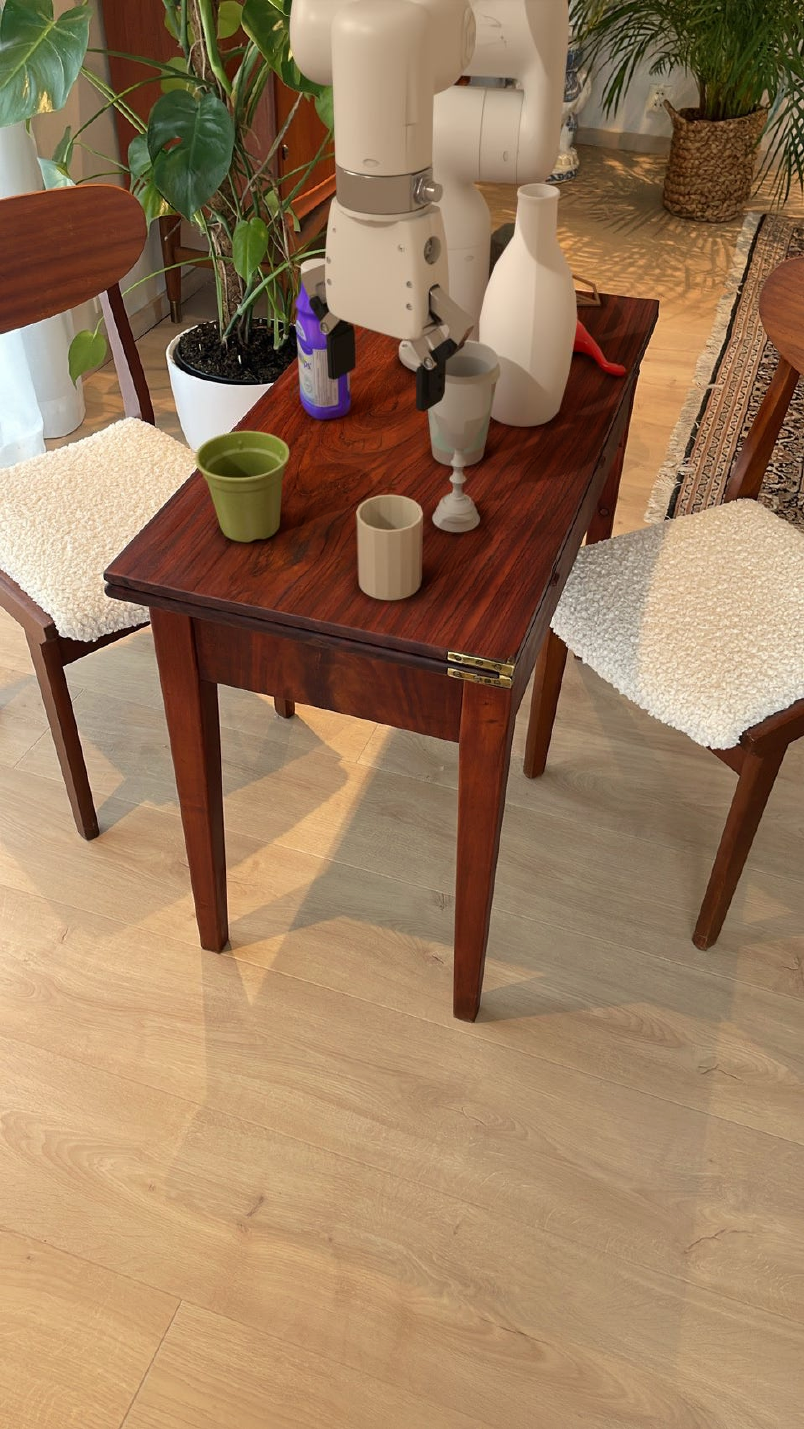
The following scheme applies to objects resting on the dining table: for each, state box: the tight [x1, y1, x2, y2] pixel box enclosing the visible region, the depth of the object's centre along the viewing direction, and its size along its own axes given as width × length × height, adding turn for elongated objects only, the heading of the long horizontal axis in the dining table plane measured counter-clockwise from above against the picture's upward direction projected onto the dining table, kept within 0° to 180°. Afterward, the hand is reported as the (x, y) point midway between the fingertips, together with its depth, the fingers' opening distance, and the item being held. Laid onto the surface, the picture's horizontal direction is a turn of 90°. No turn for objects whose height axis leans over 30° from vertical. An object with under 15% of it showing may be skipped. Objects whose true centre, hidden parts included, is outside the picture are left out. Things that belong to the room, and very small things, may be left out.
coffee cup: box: [427, 340, 501, 467], centre depth 128 cm, size 8×8×12 cm
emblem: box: [572, 274, 602, 307], centre depth 164 cm, size 12×10×1 cm
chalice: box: [432, 342, 498, 533], centre depth 116 cm, size 7×7×18 cm
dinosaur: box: [572, 313, 627, 377], centre depth 149 cm, size 4×15×12 cm
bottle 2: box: [479, 183, 578, 428], centre depth 131 cm, size 11×11×25 cm
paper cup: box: [355, 494, 424, 601], centre depth 112 cm, size 6×6×8 cm
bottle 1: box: [295, 258, 352, 421], centre depth 134 cm, size 7×6×17 cm
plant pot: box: [194, 430, 290, 543], centre depth 118 cm, size 9×9×9 cm
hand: (384, 389), depth 102 cm, fingers open, 9 cm apart
